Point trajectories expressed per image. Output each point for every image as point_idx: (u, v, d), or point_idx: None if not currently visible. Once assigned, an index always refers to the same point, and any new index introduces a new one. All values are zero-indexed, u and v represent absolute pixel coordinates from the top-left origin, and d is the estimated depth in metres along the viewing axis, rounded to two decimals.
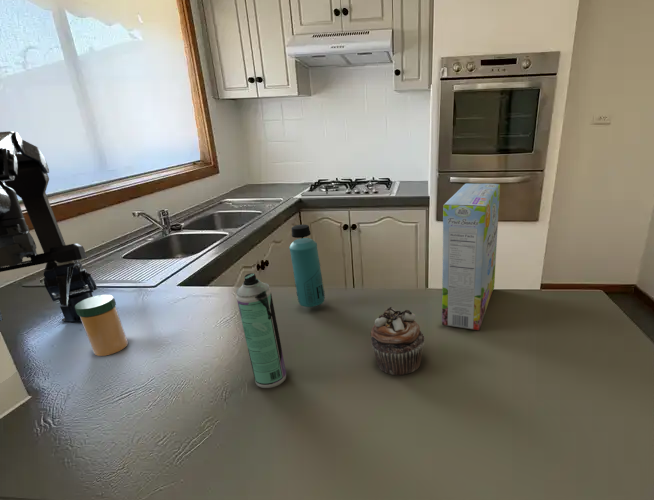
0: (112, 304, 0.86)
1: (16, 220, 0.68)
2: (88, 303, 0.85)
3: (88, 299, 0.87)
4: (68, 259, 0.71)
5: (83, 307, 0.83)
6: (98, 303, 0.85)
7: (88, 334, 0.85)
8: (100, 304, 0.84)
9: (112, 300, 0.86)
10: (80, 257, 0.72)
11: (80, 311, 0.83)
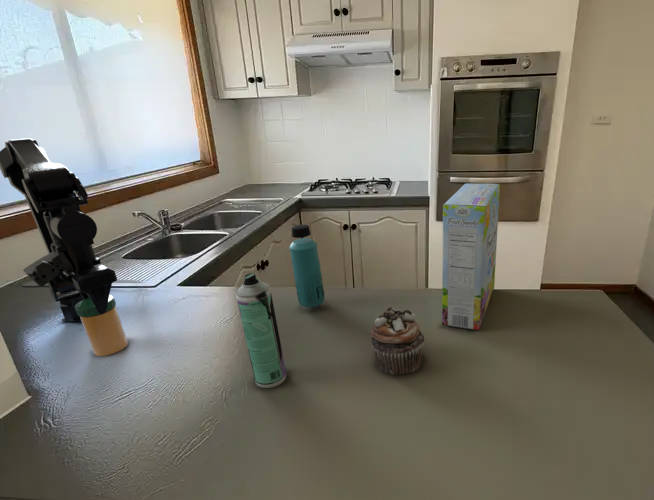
0: (112, 304, 0.86)
1: (63, 241, 0.78)
2: (88, 303, 0.85)
3: (88, 299, 0.87)
4: (78, 288, 0.77)
5: (83, 307, 0.83)
6: None
7: (88, 334, 0.85)
8: None
9: (112, 300, 0.86)
10: (84, 289, 0.76)
11: (80, 311, 0.83)
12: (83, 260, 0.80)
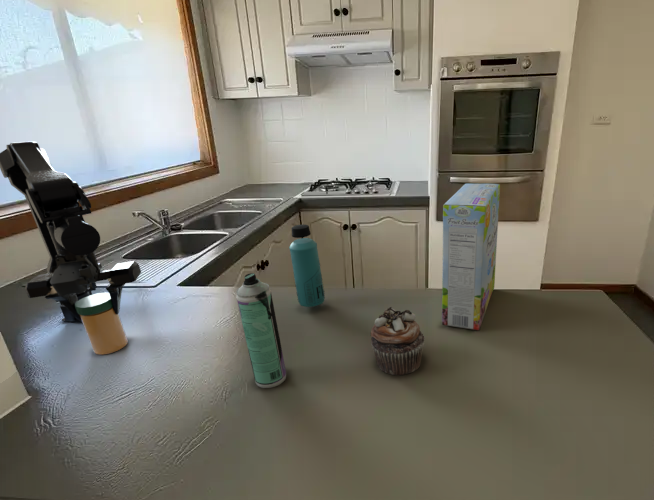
0: None
1: None
2: (91, 302, 0.85)
3: (80, 302, 0.85)
4: (124, 282, 0.83)
5: (96, 303, 0.84)
6: (104, 298, 0.86)
7: (88, 333, 0.86)
8: (109, 297, 0.86)
9: None
10: (134, 280, 0.84)
11: (96, 307, 0.83)
12: (97, 263, 0.84)
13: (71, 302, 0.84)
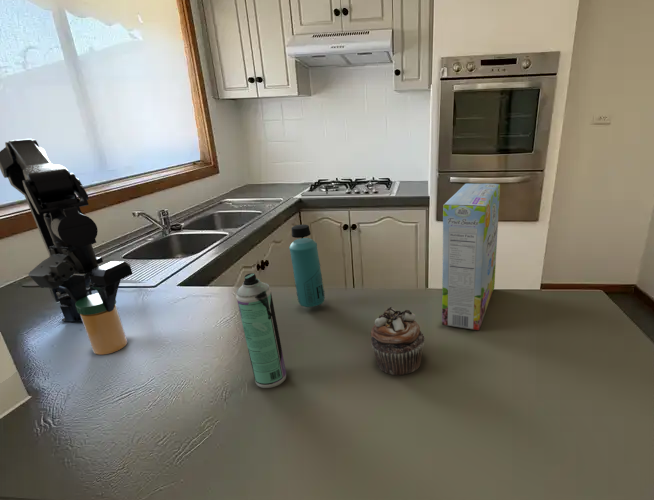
0: None
1: None
2: (95, 301, 0.85)
3: (81, 303, 0.84)
4: (101, 283, 0.79)
5: None
6: None
7: (89, 332, 0.86)
8: None
9: None
10: (109, 283, 0.79)
11: None
12: (90, 258, 0.82)
13: (73, 290, 0.85)
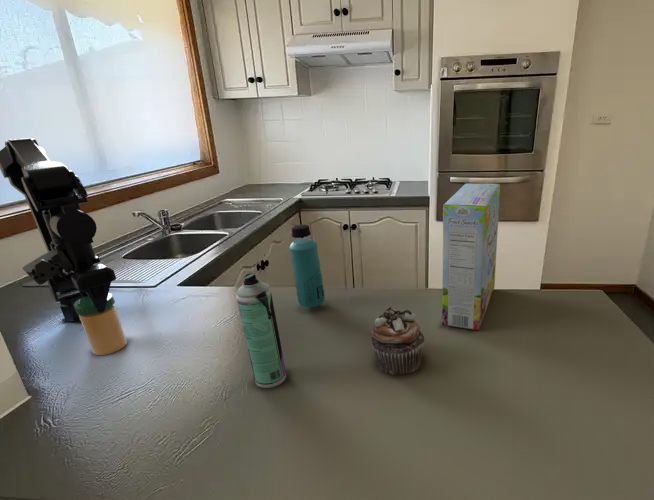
0: None
1: (62, 240, 0.78)
2: None
3: (83, 305, 0.84)
4: (77, 287, 0.77)
5: None
6: None
7: (88, 333, 0.85)
8: None
9: None
10: (82, 288, 0.76)
11: (110, 300, 0.86)
12: (83, 258, 0.80)
13: None
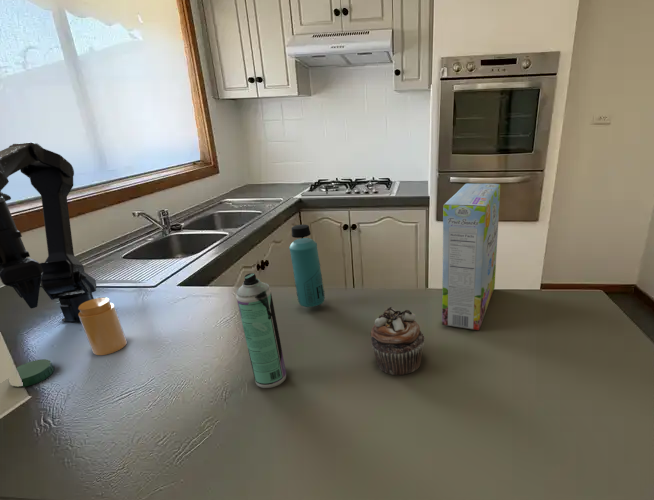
0: None
1: None
2: (32, 370, 0.81)
3: None
4: (1, 280, 0.77)
5: (44, 367, 0.81)
6: (39, 363, 0.83)
7: (88, 333, 0.85)
8: (43, 360, 0.83)
9: None
10: (6, 282, 0.76)
11: (48, 369, 0.81)
12: (10, 252, 0.81)
13: None
